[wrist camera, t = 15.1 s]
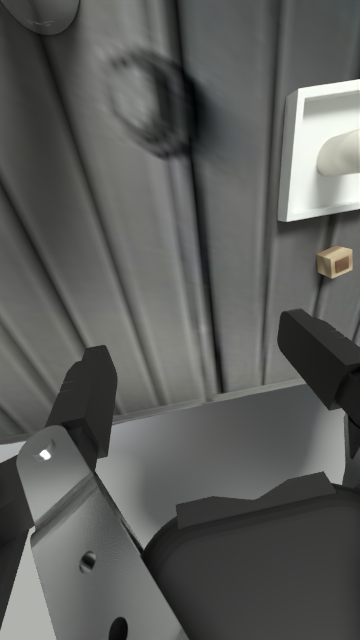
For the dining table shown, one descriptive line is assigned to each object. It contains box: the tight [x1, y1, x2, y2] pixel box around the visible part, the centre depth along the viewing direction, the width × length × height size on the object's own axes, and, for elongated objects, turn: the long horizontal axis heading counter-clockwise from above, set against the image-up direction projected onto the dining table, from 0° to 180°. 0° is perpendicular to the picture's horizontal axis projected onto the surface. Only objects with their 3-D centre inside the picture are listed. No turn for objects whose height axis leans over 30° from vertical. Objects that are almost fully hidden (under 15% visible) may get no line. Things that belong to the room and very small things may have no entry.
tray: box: [277, 79, 360, 222], centre depth 34 cm, size 16×16×3 cm
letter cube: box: [316, 246, 352, 278], centre depth 43 cm, size 4×4×4 cm
